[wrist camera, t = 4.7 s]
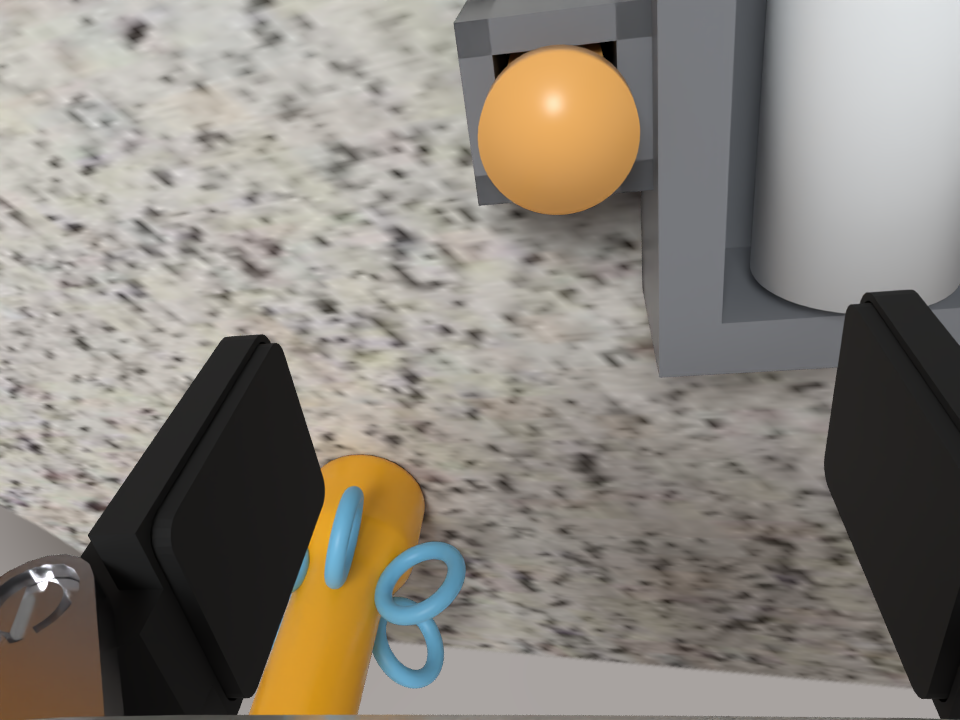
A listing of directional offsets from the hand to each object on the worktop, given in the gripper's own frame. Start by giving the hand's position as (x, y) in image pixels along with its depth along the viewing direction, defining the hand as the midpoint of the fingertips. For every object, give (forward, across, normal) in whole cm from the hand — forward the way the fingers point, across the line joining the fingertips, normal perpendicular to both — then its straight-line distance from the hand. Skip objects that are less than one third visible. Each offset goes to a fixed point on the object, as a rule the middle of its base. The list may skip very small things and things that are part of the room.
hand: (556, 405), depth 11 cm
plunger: (+19, 0, 0) cm, 19 cm away
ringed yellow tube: (+20, +11, +20) cm, 30 cm away
